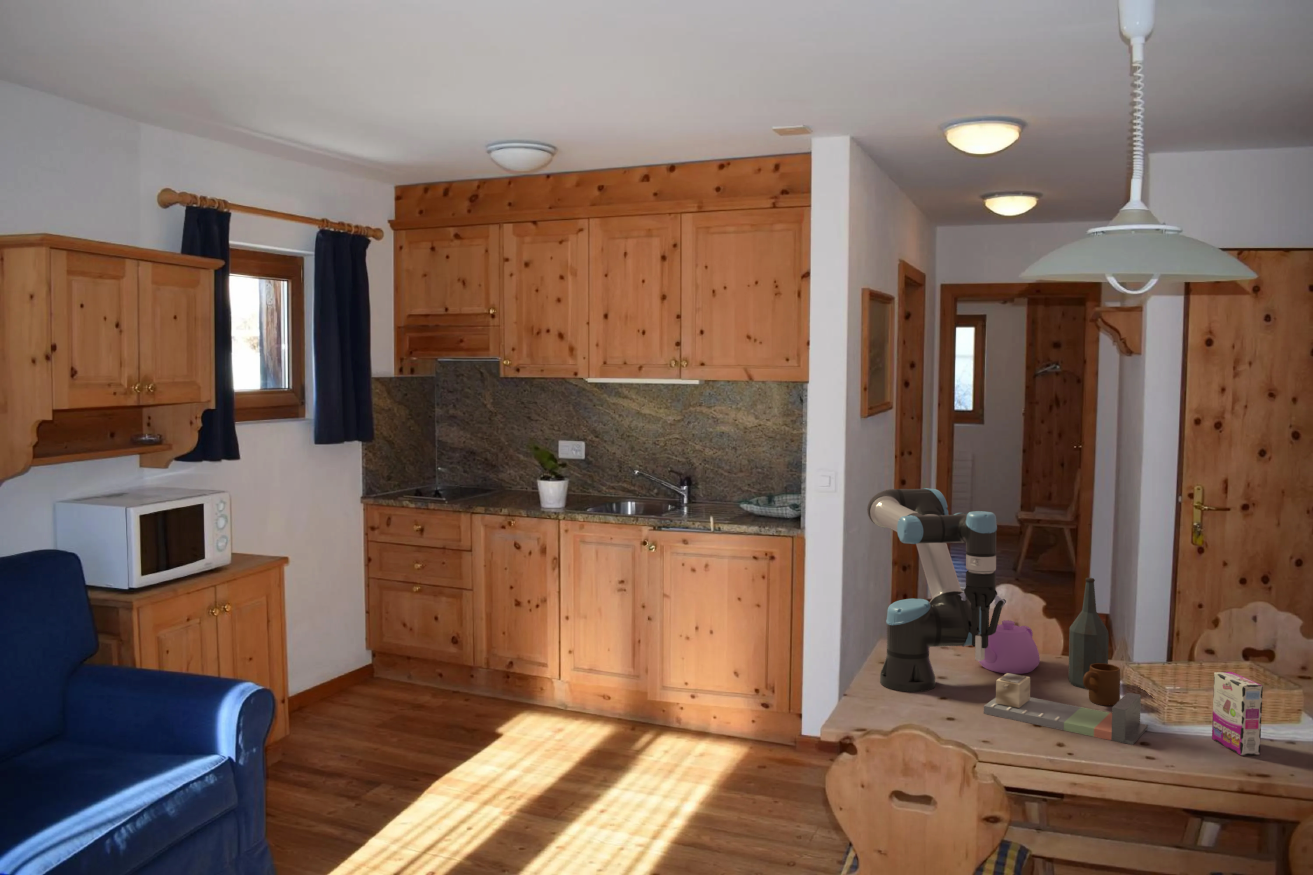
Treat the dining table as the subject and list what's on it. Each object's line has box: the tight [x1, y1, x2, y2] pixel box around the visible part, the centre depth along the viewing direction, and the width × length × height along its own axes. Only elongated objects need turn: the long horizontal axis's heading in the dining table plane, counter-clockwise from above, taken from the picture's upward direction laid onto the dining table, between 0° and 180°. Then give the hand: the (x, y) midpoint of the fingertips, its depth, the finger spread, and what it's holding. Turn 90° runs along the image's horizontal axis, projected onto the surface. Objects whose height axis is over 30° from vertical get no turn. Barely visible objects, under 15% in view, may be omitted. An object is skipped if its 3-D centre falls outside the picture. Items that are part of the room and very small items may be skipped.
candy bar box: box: [1211, 671, 1264, 756], centre depth 238 cm, size 11×5×16 cm, turn 5°
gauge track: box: [983, 696, 1112, 741], centre depth 259 cm, size 31×14×2 cm, turn 51°
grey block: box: [1110, 692, 1149, 746], centre depth 248 cm, size 5×14×8 cm, turn 141°
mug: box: [1083, 663, 1121, 707], centre depth 270 cm, size 12×8×9 cm, turn 120°
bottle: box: [1068, 577, 1110, 690], centre depth 285 cm, size 10×10×30 cm
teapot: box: [978, 619, 1041, 675], centre depth 302 cm, size 25×18×14 cm
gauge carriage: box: [995, 673, 1031, 708], centre depth 264 cm, size 6×10×6 cm, turn 141°
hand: (979, 659), depth 270 cm, fingers closed
